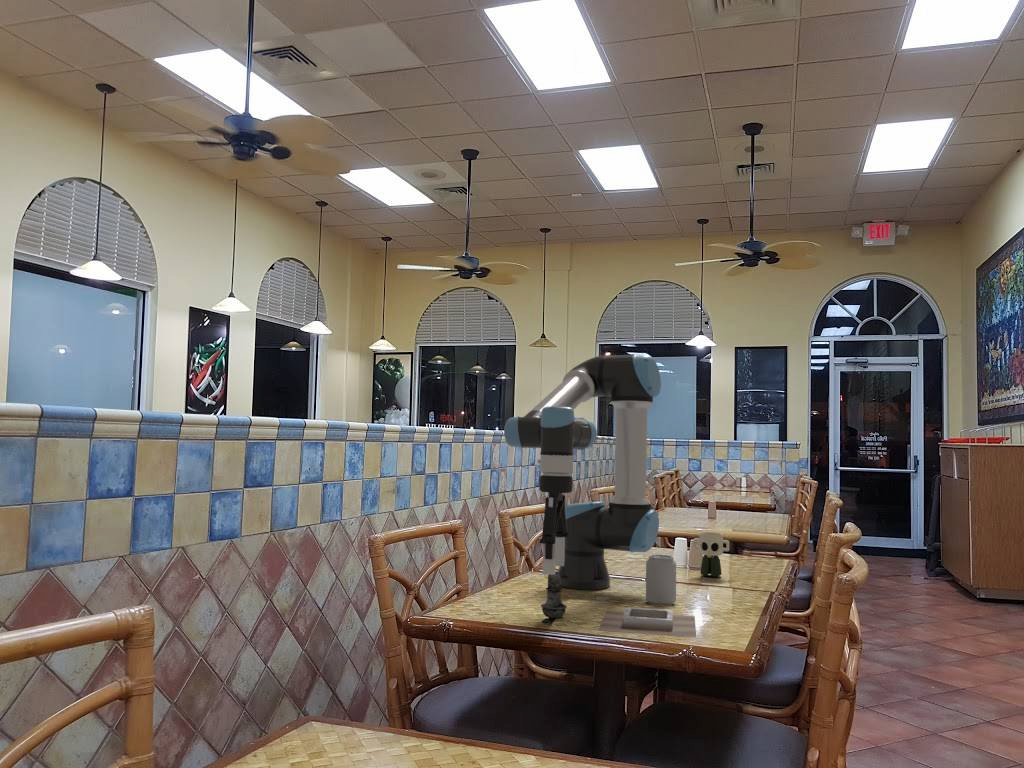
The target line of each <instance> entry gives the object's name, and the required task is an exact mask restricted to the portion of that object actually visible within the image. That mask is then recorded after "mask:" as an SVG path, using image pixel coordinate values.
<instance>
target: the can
mask: <svg viewBox="0 0 1024 768" xmlns="http://www.w3.org/2000/svg"><path fill="white" fill-rule="evenodd" d="M674 558H675V557H674V556H673V555H668V554H649V555H648V559H647V560H646V561H645V600H646V601H647V602H648V604H650V605H654V606H667V607H671V606H673V605H674V603H676V602H677V563H676V561H675V560H674Z"/></svg>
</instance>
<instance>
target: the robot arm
mask: <svg viewBox="0 0 1024 768" xmlns="http://www.w3.org/2000/svg"><path fill="white" fill-rule="evenodd" d="M661 382H662V381H661V373H660V369H659V367H658V364H657V362H656V360H655V359H654V358H653V356H651V355H649V354H640V353H639V354H638V353H636V354H635V353H634V354H633V353H632V354H618V355H617V354H615V355H598V356H595V357H592V358H589V359H587V360H584V361H583V362H581V363H580V364H578V365H575V366H574V367H573V368H571V369H570V370H569V371H568V372H567V373H565V375H564V377H563V379H562V382H560V384H558V385H557V386H556V387H555V388H554V389H553V390H552V391H551V392H550V393H549V394H547V396H545V397H544V398H543V399H542V400H540V402H539V403H537V404H536V405H535V406H534V407H533V408H532V409H530V410H529V411H528V412H527V414H524V416H519V415H518V416H513V417H509V418H508V419H507V420H506V422H505V425H504V427H503V428H504V429H503V434H504V440H505V442H506V444H507V445H508V446H509V447H512V448H520V449H540V453H539V455H540V457H539V459H537V464H540V465H539V472H540V473H541V474H542V475H540V476H539V479H538V480H539V482H538V483H539V485H538V488H539V489H538V490H539V491H540V493H541V492H542V493H548V497H545V499H544V502H545V503H544V506H545V507H544V516H543V525H542V535H541V538H540V539H539V543H540V544H542V545H543V546H542V575H548V574H550V575H555V571H556V572H557V573H559V574H560V575H561V588H566V589H573V590H602V589H607V588H609V587H610V585H611V578H610V573H609V571H608V566H607V563H606V561H605V550H608V551H611V550H612V551H619V552H631V553H633V554H634V553H646V552H649V551H651V549H652V548H653V546H654V545H655V543H656V541H657V538H658V533H659V527H660V519H659V513H658V512H657V510H655V509H652V502H651V500H650V499H649V498H648V497H647V461H648V459H647V453H648V451H647V450H648V449H647V448H648V447H647V446H648V409H649V408H650V407H651V406H652V405H653V404H654V398H655V397H658V396H659V395H660V393H661V387H662V383H661ZM596 397H597V398H598V397H607V398H608V397H609V398H610V404H611V405H612V406H613V408H615V447H614V449H615V452H614V453H615V455H614V457H615V458H614V495H613V496H612V498H610V500H608V506H606V503H605V502H604V501H590V502H588V501H587V502H579V503H578V502H576V503H571V504H567V505H566V495H565V494H569V493H572V492H573V481H574V480H573V479H574V478H573V477H572V476H571V475H572V474H573V473H574V450H586V449H589V448H590V447H592V446H593V445H594V444H595V442H596V440H597V437H598V431H597V428H596V425H595V424H594V423H593V422H592V421H591V420H590V419H587V418H585V417H575V411H574V410H576V408H577V407H578V406H579V405H580V404H582V403H585V402H588V401H589V400H591V399H592V398H596ZM557 566H558V570H557V569H556V567H557Z"/></svg>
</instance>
